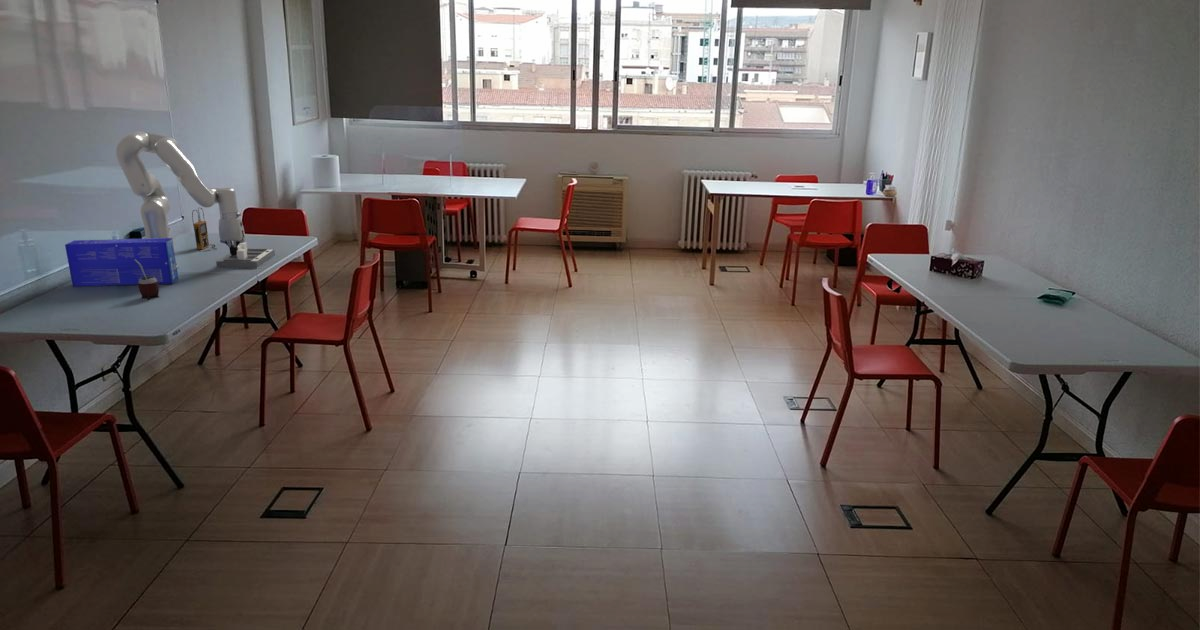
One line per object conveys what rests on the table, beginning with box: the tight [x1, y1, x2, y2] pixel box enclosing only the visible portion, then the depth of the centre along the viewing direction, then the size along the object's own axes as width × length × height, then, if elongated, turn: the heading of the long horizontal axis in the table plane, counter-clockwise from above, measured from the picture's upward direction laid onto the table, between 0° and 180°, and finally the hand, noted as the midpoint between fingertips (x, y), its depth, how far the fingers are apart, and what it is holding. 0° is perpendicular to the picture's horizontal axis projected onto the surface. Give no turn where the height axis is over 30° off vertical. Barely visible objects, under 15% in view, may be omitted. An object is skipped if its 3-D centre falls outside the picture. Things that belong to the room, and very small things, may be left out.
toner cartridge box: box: [64, 237, 179, 288], centre depth 339 cm, size 39×8×18 cm, turn 99°
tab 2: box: [237, 248, 248, 259], centre depth 372 cm, size 4×3×4 cm
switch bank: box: [215, 248, 276, 269], centre depth 380 cm, size 24×18×4 cm
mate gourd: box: [135, 259, 160, 301], centre depth 321 cm, size 8×8×15 cm
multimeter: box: [191, 207, 218, 252], centre depth 401 cm, size 15×10×20 cm
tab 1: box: [239, 241, 249, 250], centre depth 385 cm, size 4×3×4 cm
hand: (234, 255), depth 372 cm, fingers closed
